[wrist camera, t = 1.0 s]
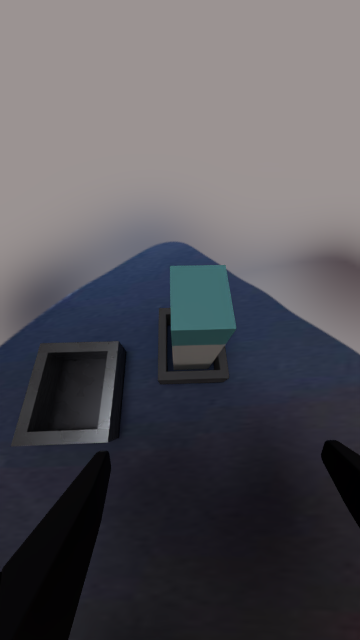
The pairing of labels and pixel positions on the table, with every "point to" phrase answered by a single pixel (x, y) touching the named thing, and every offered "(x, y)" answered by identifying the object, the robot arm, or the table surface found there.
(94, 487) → the robot arm
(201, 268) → the plug
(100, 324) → the table surface
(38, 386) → the port
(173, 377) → the frame
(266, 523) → the table surface
